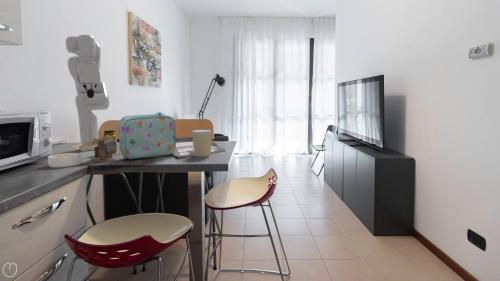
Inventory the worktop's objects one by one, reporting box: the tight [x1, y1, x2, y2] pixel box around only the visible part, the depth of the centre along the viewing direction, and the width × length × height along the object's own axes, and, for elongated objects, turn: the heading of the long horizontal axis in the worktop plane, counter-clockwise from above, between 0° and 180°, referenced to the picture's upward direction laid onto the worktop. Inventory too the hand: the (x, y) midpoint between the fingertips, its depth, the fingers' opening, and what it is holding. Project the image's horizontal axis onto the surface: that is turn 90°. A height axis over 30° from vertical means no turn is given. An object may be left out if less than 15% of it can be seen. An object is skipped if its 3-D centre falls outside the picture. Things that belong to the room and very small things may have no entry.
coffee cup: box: [191, 129, 212, 158], centre depth 174 cm, size 9×9×12 cm
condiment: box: [103, 129, 121, 155], centre depth 189 cm, size 7×8×12 cm
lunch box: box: [118, 111, 177, 160], centre depth 174 cm, size 27×10×21 cm, turn 126°
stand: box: [90, 138, 115, 163], centre depth 169 cm, size 11×8×10 cm
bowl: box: [47, 152, 82, 169], centre depth 159 cm, size 12×12×4 cm
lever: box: [71, 135, 118, 152], centre depth 171 cm, size 17×15×7 cm
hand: (90, 97), depth 181 cm, fingers closed
